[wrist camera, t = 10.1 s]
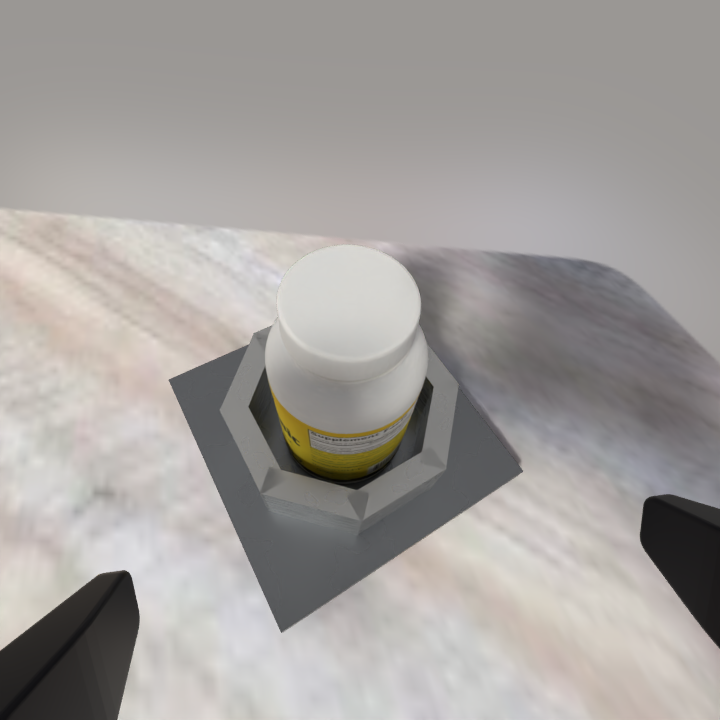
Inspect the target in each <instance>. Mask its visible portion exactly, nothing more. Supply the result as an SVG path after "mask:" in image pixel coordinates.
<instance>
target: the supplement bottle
mask: <svg viewBox="0 0 720 720" xmlns="http://www.w3.org/2000/svg"><path fill="white" fill-rule="evenodd" d="M276 306H277V314H278V317H277V319H276V320H275V322H274V324H273V326H272V328H271V330H270V333H269V335H268V339H267V343H266V348H265V365H266V372H267V377H268V381H269V385H270V388H271V392H272V395H273V398H274V402H275V407H276V410H277V414H278V417H279V420H280V424H281V427H282V431H283V435H284V439H285V442H286V444H287V447H288V449H289V451H290V453H291V455H292V457H293V458H294V459H295V461H296V462H297V463H298V464H299V465H300V467H301V468H303V469H304V470H305V471H306V472H308V473H309V474H311V475H312V476H314V477H316V478H318V479H321V480H323V481H327V482H331V483H337V484H348V483H356V482H360V481H364V480H366V479H368V478H371V477H373V476H374V475H376V474H378V473H379V472H380V471H382V470H383V469H384V468H385V467H386V466H387V465H388V464H389V463H390V462H391V460H392V459H393V458H394V456H395V454H396V453H397V451H398V449H399V447H400V444H401V442H402V439H403V437H404V434H405V432H406V429H407V426H408V423H409V421H410V419H411V415H412V413H413V410H414V407H415V405H416V402H417V400H418V397H419V394H420V392H421V389H422V387H423V384H424V380H425V377H426V373H427V368H428V348H427V343H426V339H425V336H424V333H423V330H422V328H421V326H420V325H419V319H420V315H421V297H420V292H419V289H418V286H417V284H416V282H415V280H414V278H413V277H412V275H411V274H410V273H409V272H408V270H407V269H406V268H405V267H404V266H403V265H402V264H401V263H399V262H398V261H397V260H396V259H394V258H393V257H391V256H389V255H388V254H386V253H383V252H381V251H379V250H376V249H373V248H370V247H366V246H360V245H350V244H346V245H345V244H343V245H334V246H329V247H324V248H321V249H318V250H315V251H313V252H311V253H309V254H307V255H305V256H304V257H302V258H301V259H300V260H298V261H297V262H296V263H295V264H293V265H292V266H291V267H290V269H289V270H288V271H287V272H286V274H285V275H284V277H283V279H282V281H281V283H280V286H279V289H278V293H277V300H276Z"/></svg>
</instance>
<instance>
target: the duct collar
mask: <svg viewBox="0 0 720 720" xmlns="http://www.w3.org/2000/svg"><path fill="white" fill-rule="evenodd" d="M272 326H273V325H272ZM272 326H270V327H267V328H265V329H263V330H260V331H258V332H256V333H253V334H254V335H253V337H252V339H251V341H250V344H249V345H247V346H245V347H242V348H240V349H238V350H235V351H233V352H231V353H229V354H226V355H224V356H222V357H219V358H217V359H215V360H213V361H210V362H208V363H206V364H203V365H201V366H199V367H197V368H194V369H192V370H190V371H187V372H185V373H183V374H181V375H178V376H176V377H174V378H171V379H169V382H170V384H171V386H172V388H173V391H174V393H175V395H176V397H177V400H178V402H179V404H180V406H181V409H182V411H183V413H184V415H185V418H186V420H187V422H188V424H189V427H190V429H191V431H192V433H193V436H194V438H195V440H196V442H197V445H198V447H199V449H200V451H201V454H202V456H203V458H204V460H205V463H206V465H207V467H208V469H209V472H210V474H211V476H212V478H213V481H214V483H215V485H216V487H217V490H218V492H219V494H220V496H221V499H222V501H223V503H224V505H225V508H226V510H227V512H228V514H229V517H230V519H231V521H232V523H233V525H234V528H235V530H236V532H237V534H238V537H239V539H240V541H241V543H242V546H243V548H244V550H245V552H246V555H247V557H248V559H249V561H250V564H251V566H252V568H253V570H254V573H255V575H256V577H257V579H258V582H259V584H260V586H261V588H262V591H263V593H264V595H265V597H266V600H267V602H268V604H269V606H270V609H271V611H272V613H273V615H274V618H275V620H276V622H277V624H278V627H279V629H280V631H281V633H282V632H284V631H286V630H287V629H289V628H290V627H292V626H293V625H295V624H296V623H298V622H299V621H301V620H302V619H304V618H305V617H307V616H308V615H310V614H311V613H313V612H314V611H316V610H317V609H319V608H320V607H322V606H323V605H325V604H326V603H328V602H329V601H331V600H332V599H334V598H335V597H337V596H338V595H340V594H341V593H343V592H344V591H346V590H347V589H349V588H350V587H352V586H353V585H355V584H356V583H358V582H359V581H361V580H362V579H364V578H365V577H367V576H368V575H370V574H371V573H373V572H374V571H376V570H377V569H379V568H380V567H382V566H383V565H385V564H386V563H388V562H389V561H391V560H392V559H394V558H395V557H397V556H398V555H400V554H401V553H403V552H404V551H406V550H407V549H409V548H410V547H412V546H413V545H415V544H416V543H418V542H419V541H421V540H422V539H423V538H425V537H426V536H428V535H429V534H431V533H432V532H434V531H435V530H437V529H438V528H440V527H441V526H443V525H444V524H446V523H447V522H449V521H450V520H452V519H453V518H455V517H456V516H458V515H459V514H461V513H462V512H464V511H465V510H467V509H468V508H470V507H471V506H473V505H474V504H476V503H477V502H479V501H480V500H482V499H483V498H485V497H486V496H488V495H489V494H491V493H492V492H494V491H495V490H497V489H498V488H500V487H501V486H503V485H504V484H506V483H507V482H509V481H510V480H512V479H513V478H515V477H516V476H518V475H519V474H520V473H522V472H523V470H522V469H521V468H520V466H519V465H518V464H517V463H516V461H515V460H514V459H513V457H512V456H511V455H510V453H509V452H508V451H507V450H506V448H505V447H504V446H503V444H502V443H501V442H500V440H499V439H498V438H497V437H496V435H495V434H494V433H493V431H492V430H491V429H490V428H489V426H488V425H487V424H486V422H485V421H484V420H483V418H482V417H481V416H480V415H479V413H478V412H477V411H476V409H475V408H474V407H473V405H472V404H471V403H470V402H469V400H468V399H467V398H466V396H465V395H464V394H463V392H462V391H461V390H460V389H459V387H458V386H459V383H458V382H457V381H456V380H455V378H454V377H453V376H452V375H451V373H450V372H449V371H448V369H447V368H446V367H445V366H444V364H443V363H442V362H441V360H440V359H439V358H438V357H437V355H436V354H435V353H434V351H433V350H432V349H431V347H430V346H429V345H428V344H427V348H428V368H427V373H426V377H425V380H424V384H423V387H422V389H421V392H420V394H419V397H418V400H417V402H416V405H415V407H414V410H413V413H412V415H411V419H410V421H409V423H408V426H407V429H406V432H405V434H404V437H403V439H402V442H401V444H400V447H399V449H398V451H397V453H396V454H395V456H394V458H393V459H392V460H391V462H390V463H389V464H388V465H387V466H386V467H385V468H384V469H383V470H382V471H380V472H379V473H378V474H376V475H374V476H373V477H371V478H368V479H366V480H364V481H360V482H356V483H348V484H337V483H331V482H327V481H323V480H321V479H318V478H316V477H314V476H312V475H311V474H309V473H308V472H306V471H305V470H304V469H303V468H301V467H300V465H299V464H298V463H297V462H296V461H295V459H294V458H293V457H292V455H291V453H290V451H289V449H288V447H287V444H286V442H285V439H284V435H283V431H282V427H281V424H280V420H279V417H278V414H277V410H276V407H275V402H274V398H273V395H272V392H271V388H270V385H269V381H268V377H267V372H266V365H265V348H266V343H267V339H268V335H269V333H270V330H271V328H272ZM426 343H427V342H426Z"/></svg>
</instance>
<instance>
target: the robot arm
mask: <svg viewBox="0 0 720 720" xmlns="http://www.w3.org/2000/svg"><path fill="white" fill-rule="evenodd" d="M640 541H641V544H642V546H643V548H644V550H645V552H646V553H647V554H648V556H649V557H650V558H651V560H652V561H653V562H654V564H655V565H656V567H657V568H658V569H659V571H660V572H661V573H662V575H663V576H664V577H665V579H666V580H667V581H668V583H669V584H670V585H671V587H672V588H673V589H674V591H675V592H676V594H677V595H678V596H679V598H680V599H681V600H682V602H683V603H684V604H685V606H686V607H687V608H688V610H689V611H690V612H691V614H692V615H693V616H694V618H695V619H696V620H697V622H698V623H699V624H700V626H701V627H702V628H703V629H704V631H705V632H706V633H707V634H708V635H709V637H710V638H711V639H712V640H713V641H714V643H715V644H716V645H717V646H718V647H719V648H720V509H718V508H715V507H711V506H708V505H705V504H701V503H698V502H695V501H691V500H688V499H685V498H681V497H678V496H675V495H670V494H666V495H658V496H651V497H649V498H647V499H646V501H645V502H644V505H643V513H642V521H641V530H640ZM139 621H140V616H139V609H138V604H137V600H136V595H135V590H134V586H133V581H132V577H131V575H130V573H129V572H127V571H125V570H122V571H115V572H108V573H102V574H99V575H98V576H96V577H95V578H94V579H92V580H91V581H90V582H88V583H87V584H86V585H85V586H83V587H82V588H81V589H79V590H78V591H77V592H76V593H74V594H73V595H72V596H70V597H69V598H68V599H66V600H65V601H64V602H63V603H61V604H60V605H59V606H57V607H56V608H55V609H54V610H52V611H51V612H50V613H48V614H47V615H46V616H45V617H43V618H42V619H41V620H39V621H38V622H37V623H35V624H34V625H33V626H32V627H30V628H29V629H28V630H26V631H25V632H24V633H23V634H21V635H20V636H19V637H17V638H16V639H15V640H14V641H12V642H11V643H10V644H8V645H7V646H6V647H4V648H3V649H2V650H1V651H0V720H117V719H118V714H119V710H120V706H121V702H122V697H123V693H124V689H125V685H126V680H127V676H128V672H129V668H130V663H131V659H132V655H133V651H134V647H135V642H136V638H137V634H138V629H139Z"/></svg>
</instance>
